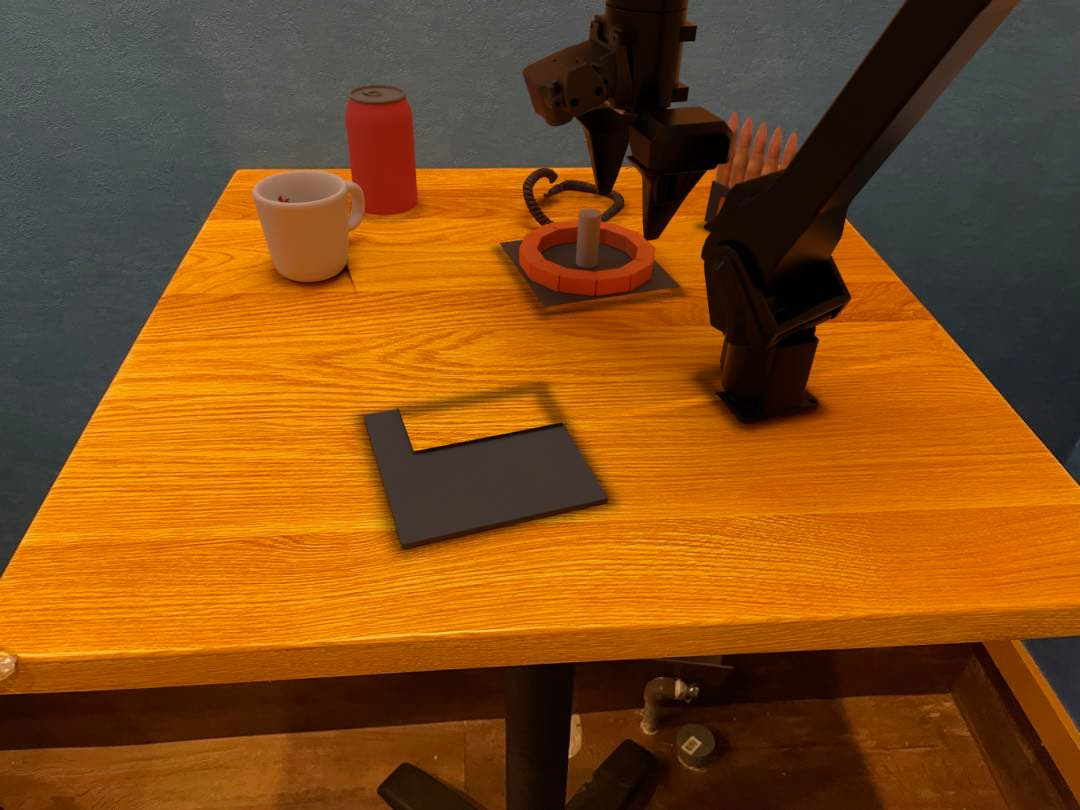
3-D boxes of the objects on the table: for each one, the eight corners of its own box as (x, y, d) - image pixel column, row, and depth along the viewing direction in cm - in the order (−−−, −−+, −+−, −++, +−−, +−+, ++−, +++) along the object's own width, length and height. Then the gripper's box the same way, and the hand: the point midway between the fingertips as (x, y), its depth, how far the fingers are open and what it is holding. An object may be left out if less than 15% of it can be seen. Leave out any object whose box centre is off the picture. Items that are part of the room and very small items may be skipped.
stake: (680, 294, 73) (689, 234, 70) (543, 314, 70) (546, 252, 66) (621, 234, 83) (626, 179, 80) (498, 249, 80) (498, 192, 76)
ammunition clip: (796, 261, 79) (825, 138, 72) (783, 266, 79) (812, 142, 71) (714, 223, 86) (734, 107, 79) (702, 227, 85) (721, 110, 78)
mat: (607, 502, 51) (608, 497, 51) (402, 549, 48) (402, 544, 47) (538, 387, 61) (538, 383, 61) (364, 419, 57) (363, 414, 57)
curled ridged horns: (583, 149, 91) (652, 172, 85) (578, 196, 94) (644, 222, 88) (491, 165, 83) (559, 192, 77) (488, 216, 86) (554, 246, 80)
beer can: (386, 192, 90) (377, 78, 83) (431, 207, 87) (425, 91, 80) (342, 210, 86) (327, 92, 79) (387, 227, 83) (377, 106, 76)
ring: (675, 284, 73) (677, 268, 72) (547, 303, 70) (547, 287, 69) (619, 229, 82) (621, 214, 81) (504, 243, 79) (504, 228, 78)
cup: (337, 233, 81) (327, 154, 77) (396, 256, 78) (389, 174, 73) (248, 272, 74) (231, 188, 69) (309, 299, 71) (295, 212, 66)
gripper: (496, -16, 62) (496, 183, 71) (590, 41, 48) (575, 281, 57) (631, -21, 65) (614, 171, 74) (756, 32, 51) (716, 261, 60)
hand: (626, 215), depth 66 cm, fingers open, 9 cm apart
